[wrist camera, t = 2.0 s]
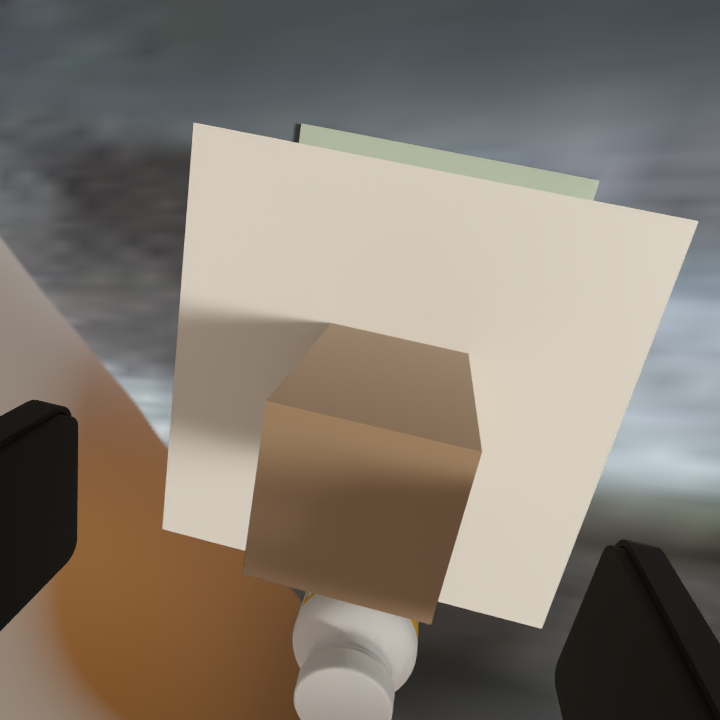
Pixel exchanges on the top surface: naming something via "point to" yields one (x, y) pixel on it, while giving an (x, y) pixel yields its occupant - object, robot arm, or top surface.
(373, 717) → the supplement bottle
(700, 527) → the top surface
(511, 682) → the top surface
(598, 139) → the top surface
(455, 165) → the mat
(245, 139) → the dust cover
